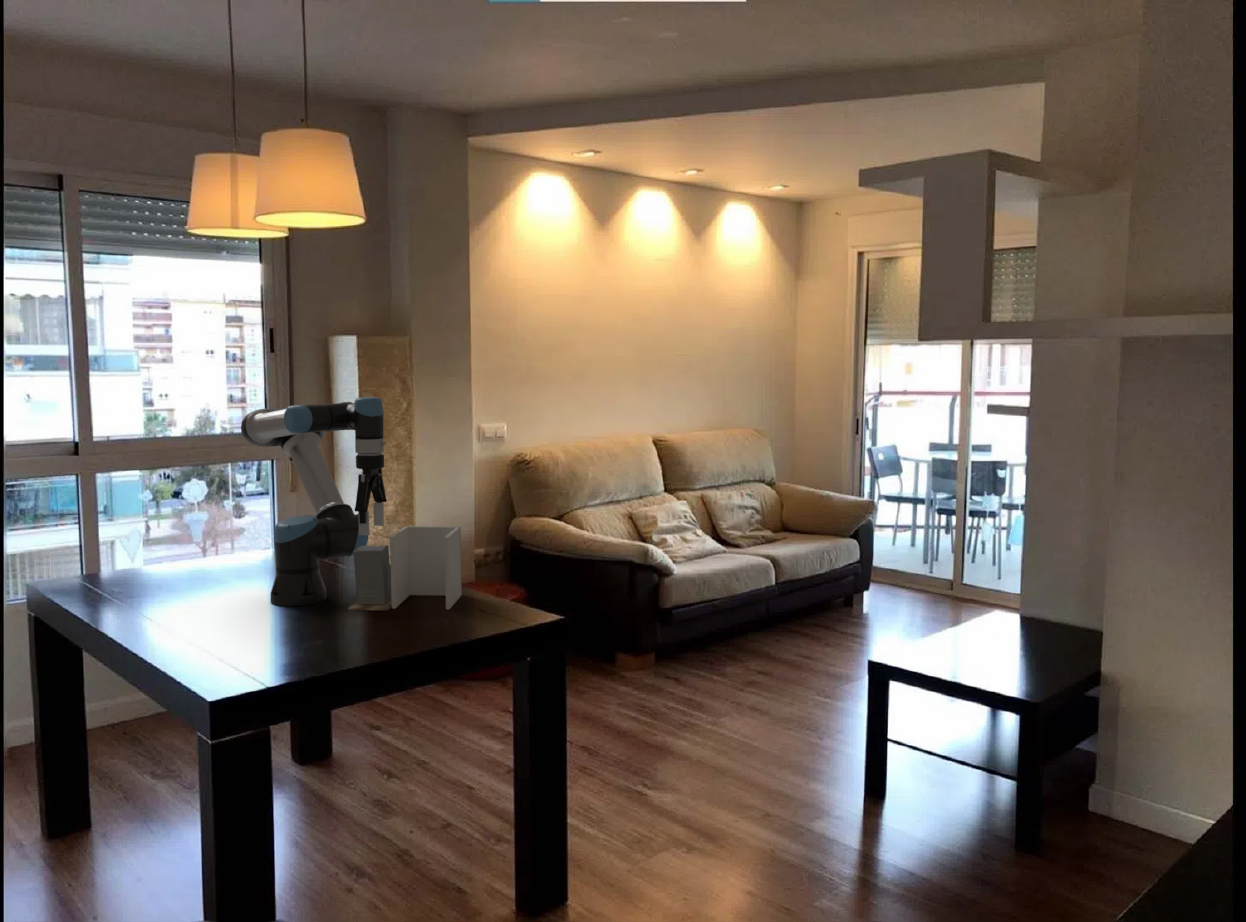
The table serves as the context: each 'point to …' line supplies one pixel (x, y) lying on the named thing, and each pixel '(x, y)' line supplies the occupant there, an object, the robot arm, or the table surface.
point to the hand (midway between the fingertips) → (371, 530)
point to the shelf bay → (426, 563)
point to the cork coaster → (370, 606)
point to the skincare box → (372, 575)
